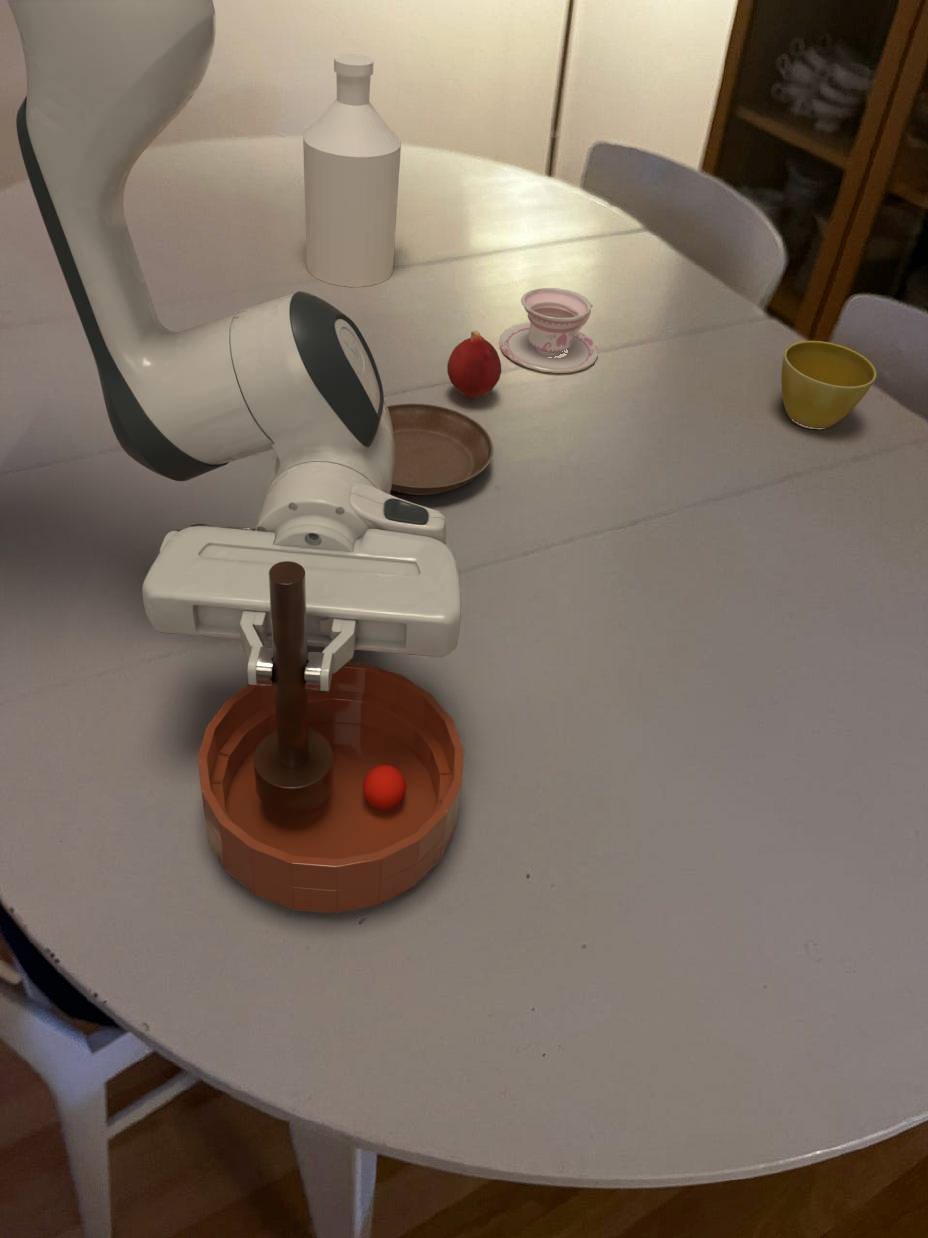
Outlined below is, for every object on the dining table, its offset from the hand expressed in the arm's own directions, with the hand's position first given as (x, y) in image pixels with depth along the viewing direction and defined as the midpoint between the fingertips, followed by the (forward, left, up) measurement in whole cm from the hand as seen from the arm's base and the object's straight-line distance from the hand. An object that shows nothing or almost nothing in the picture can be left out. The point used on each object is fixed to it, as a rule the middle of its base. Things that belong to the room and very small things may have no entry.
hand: (288, 681), depth 61 cm
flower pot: (+50, +61, -14) cm, 80 cm away
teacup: (+20, +71, -14) cm, 75 cm away
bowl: (+3, +1, -14) cm, 14 cm away
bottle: (-6, +88, -14) cm, 89 cm away
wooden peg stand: (0, +1, -11) cm, 11 cm away
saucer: (+6, +44, -14) cm, 47 cm away
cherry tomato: (+6, +2, -11) cm, 13 cm away
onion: (+11, +58, -14) cm, 61 cm away
